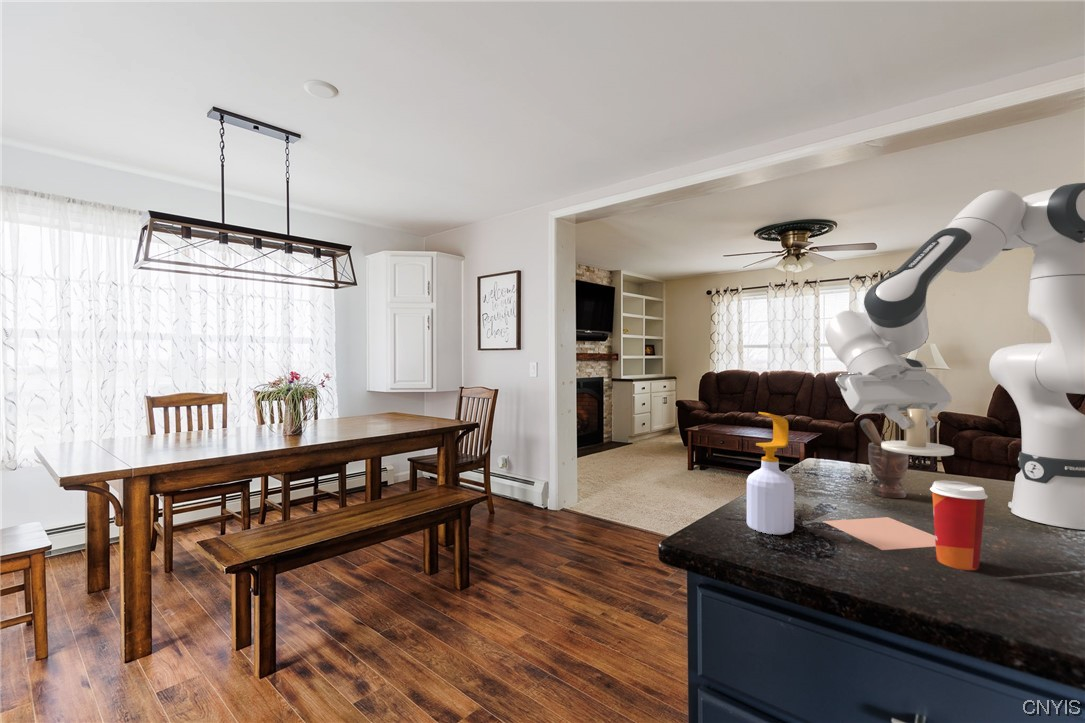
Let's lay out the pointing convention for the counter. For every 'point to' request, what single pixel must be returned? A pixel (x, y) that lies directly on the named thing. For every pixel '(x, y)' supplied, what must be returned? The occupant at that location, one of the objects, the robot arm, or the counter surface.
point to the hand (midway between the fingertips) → (919, 426)
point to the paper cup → (958, 523)
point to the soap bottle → (771, 487)
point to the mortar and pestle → (885, 464)
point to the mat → (885, 533)
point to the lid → (917, 438)
